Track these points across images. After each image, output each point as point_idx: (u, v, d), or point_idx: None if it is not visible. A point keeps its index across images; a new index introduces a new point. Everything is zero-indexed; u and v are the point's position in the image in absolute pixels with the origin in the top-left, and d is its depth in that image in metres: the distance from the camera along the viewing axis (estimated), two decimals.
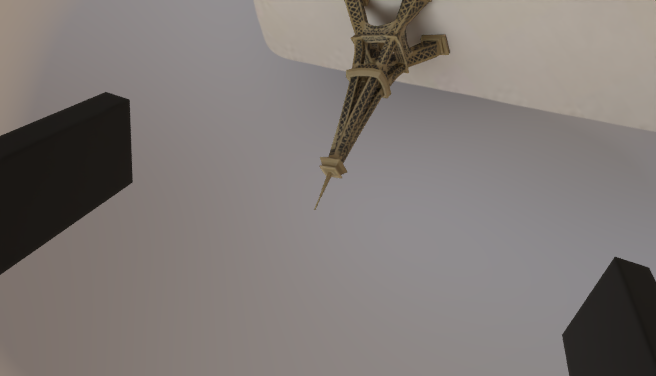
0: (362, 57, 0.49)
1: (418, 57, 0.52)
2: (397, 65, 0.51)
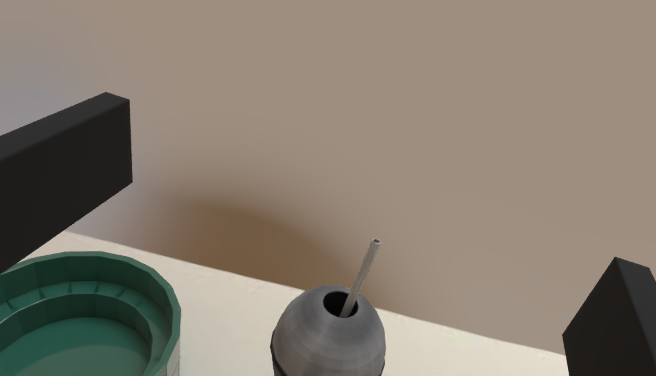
0: None
1: None
2: None
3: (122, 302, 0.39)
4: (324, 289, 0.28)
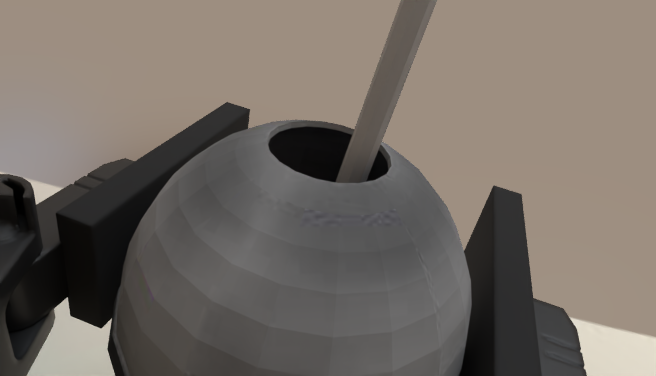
0: None
1: None
2: None
3: None
4: (280, 121, 0.09)
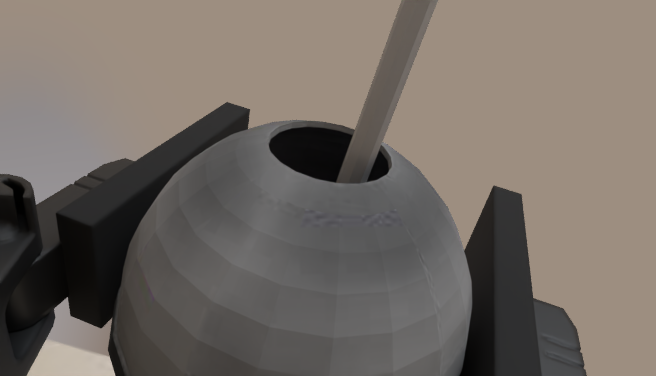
0: None
1: None
2: None
3: None
4: (280, 121, 0.09)
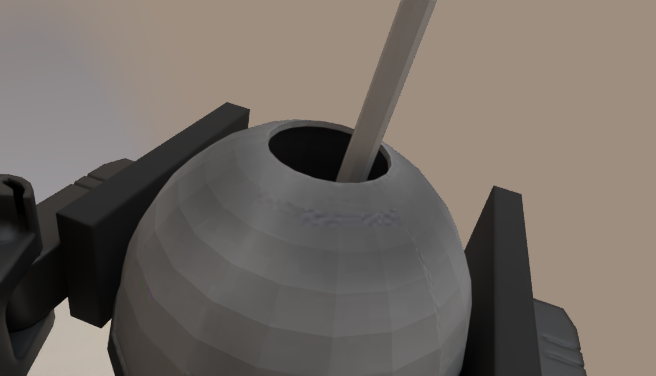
0: None
1: None
2: None
3: None
4: None
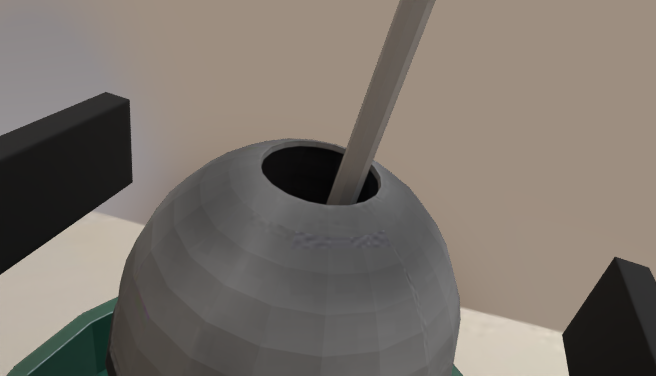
0: None
1: None
2: None
3: None
4: (274, 140, 0.09)
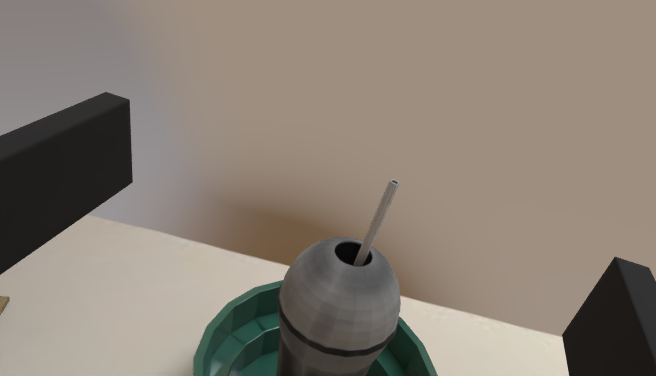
0: None
1: None
2: None
3: None
4: (335, 239, 0.26)
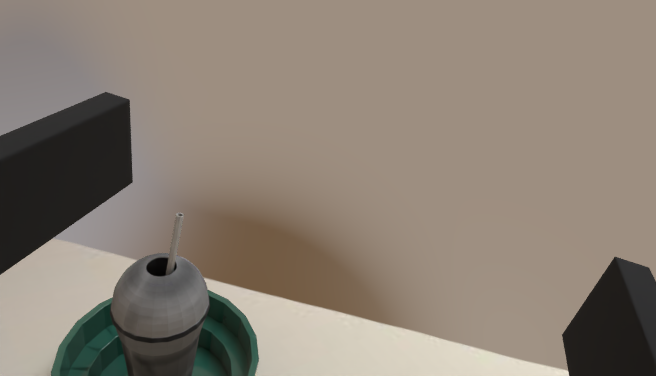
0: None
1: None
2: None
3: None
4: (153, 255, 0.35)
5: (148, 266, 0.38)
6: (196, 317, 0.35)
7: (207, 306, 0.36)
